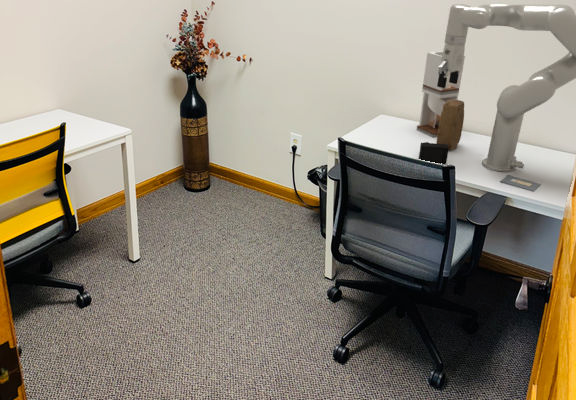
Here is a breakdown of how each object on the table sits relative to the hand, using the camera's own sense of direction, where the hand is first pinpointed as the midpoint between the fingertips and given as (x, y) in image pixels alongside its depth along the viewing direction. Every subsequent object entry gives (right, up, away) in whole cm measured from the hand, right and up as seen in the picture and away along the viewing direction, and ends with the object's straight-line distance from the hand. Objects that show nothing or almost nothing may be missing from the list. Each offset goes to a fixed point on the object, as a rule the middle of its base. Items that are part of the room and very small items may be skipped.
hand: (447, 85), depth 210 cm
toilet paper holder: (+5, -13, +38) cm, 41 cm away
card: (+24, -38, -11) cm, 46 cm away
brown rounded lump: (+6, -22, +21) cm, 31 cm away
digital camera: (-4, -29, +7) cm, 30 cm away
